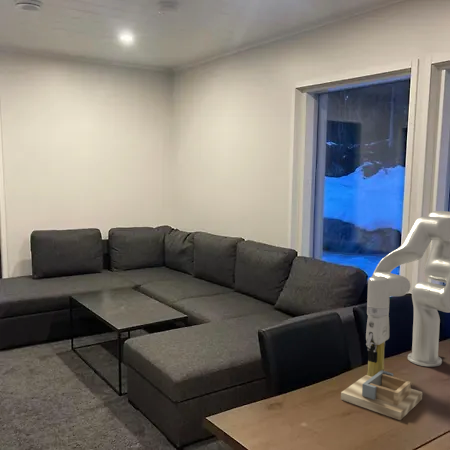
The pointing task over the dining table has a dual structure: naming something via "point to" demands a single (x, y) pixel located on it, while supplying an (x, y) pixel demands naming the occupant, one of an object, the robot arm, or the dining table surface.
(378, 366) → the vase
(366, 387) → the grey bracket
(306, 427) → the dining table surface
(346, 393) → the board
